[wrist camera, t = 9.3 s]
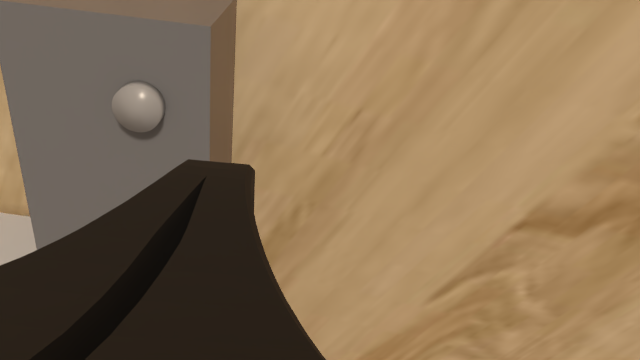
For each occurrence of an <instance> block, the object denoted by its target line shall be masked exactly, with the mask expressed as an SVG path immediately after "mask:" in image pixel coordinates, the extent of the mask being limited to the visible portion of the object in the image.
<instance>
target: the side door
mask: <svg viewBox="0 0 640 360" xmlns="http://www.w3.org/2000/svg"><path fill="white" fill-rule="evenodd" d="M36 250H37V248H36V243H35V238H34V233H33V228H32V223H31V218H30V217H29V216H21V215H14V214H7V213H0V265H2V264H5V263H8V262H10V261H13V260H15V259H18V258H20V257H22V256H25V255H27V254H29V253H32V252H34V251H36Z"/></svg>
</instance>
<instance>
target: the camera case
mask: <svg viewBox="0 0 640 360" xmlns="http://www.w3.org/2000/svg"><path fill="white" fill-rule="evenodd" d="M236 2H237V0H0V64H1V70H2V75H3V80H4V85H5V90H6V95H7V100H8V105H9V110H10V116H11V121H12V126H13V131H14V136H15V141H16V146H17V151H18V156H19V162H20V167H21V172H22V177H23V182H24V187H25V192H26V197H27V202H28V208H29V213H30V218H31V223H32V228H33V233H34V238H35V243H36V248H37V250H38V249H40V248H42V247H44V246H46V245H48V244H51V243H53V242H55V241H57V240H59V239H61V238H63V237H65V236H67V235H69V234H71V233H73V232H74V231H76V230H78V229H80V228H82V227H84V226H85V225H87V224H89V223H90V222H92V221H94V220H95V219H97V218H99V217H100V216H102V215H104V214H106V213H107V212H109V211H111V210H112V209H114V208H116V207H117V206H119V205H121V204H122V203H124V202H125V201H127V200H129V199H130V198H132V197H133V196H135V195H136V194H138V193H139V192H140V191H142V190H143V189H145V188H146V187H148V186H149V185H151V184H152V183H154V182H155V181H157V180H158V179H160V178H161V177H163V176H164V175H165V174H167V173H168V172H170V171H171V170H173V169H174V168H176V167H177V166H178V165H180V164H182V163H183V162H185V161H186V160H188V159H191V160H202V161H213V162H224V163H231V157H232V126H233V95H234V64H235V33H236Z"/></svg>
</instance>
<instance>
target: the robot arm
mask: <svg viewBox="0 0 640 360" xmlns="http://www.w3.org/2000/svg"><path fill="white" fill-rule="evenodd" d="M254 184H255V170H254V169H253V168H252V167H251V166H250V165H247V164H235V163H224V162H213V161H202V160H191V159H188V160H186V161H185V162H183V163H182V164H180V165H178V166H177V167H176V168H174V169H173V170H171V171H170V172H168V173H167V174H165V175H164V176H163V177H161V178H160V179H158V180H157V181H155V182H154V183H152V184H151V185H149V186H148V187H146V188H145V189H143V190H142V191H140V192H139V193H138V194H136V195H135V196H133V197H132V198H130V199H129V200H127V201H125V202H124V203H122V204H121V205H119V206H117V207H116V208H114V209H112V210H111V211H109V212H107V213H106V214H104V215H102V216H100V217H99V218H97V219H95V220H94V221H92V222H90V223H89V224H87V225H85V226H84V227H82V228H80V229H78V230H76V231H74V232H73V233H71V234H69V235H67V236H65V237H63V238H61V239H59V240H57V241H55V242H53V243H51V244H48V245H46V246H44V247H42V248H40V249H38V250H36V251H34V252H32V253H29V254H27V255H25V256H22V257H20V258H18V259H15V260H13V261H10V262H8V263H5V264H2V265H0V360H326V359H325V358H324V357H323V356H322V354H321V353H320V351H319V350H318V349H317V347H316V346H315V344H314V343H313V342H312V340H311V339H310V338H309V336H308V335H307V333H306V332H305V330H304V329H303V327H302V325H301V324H300V322H299V320H298V319H297V317H296V315H295V314H294V312H293V310H292V309H291V307H290V306H289V304H288V302H287V301H286V299H285V297H284V295H283V293H282V291H281V289H280V287H279V285H278V283H277V281H276V279H275V276H274V274H273V272H272V270H271V267H270V265H269V262H268V260H267V257H266V255H265V252H264V249H263V246H262V243H261V240H260V236H259V233H258V229H257V226H256V221H255V216H254Z"/></svg>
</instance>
